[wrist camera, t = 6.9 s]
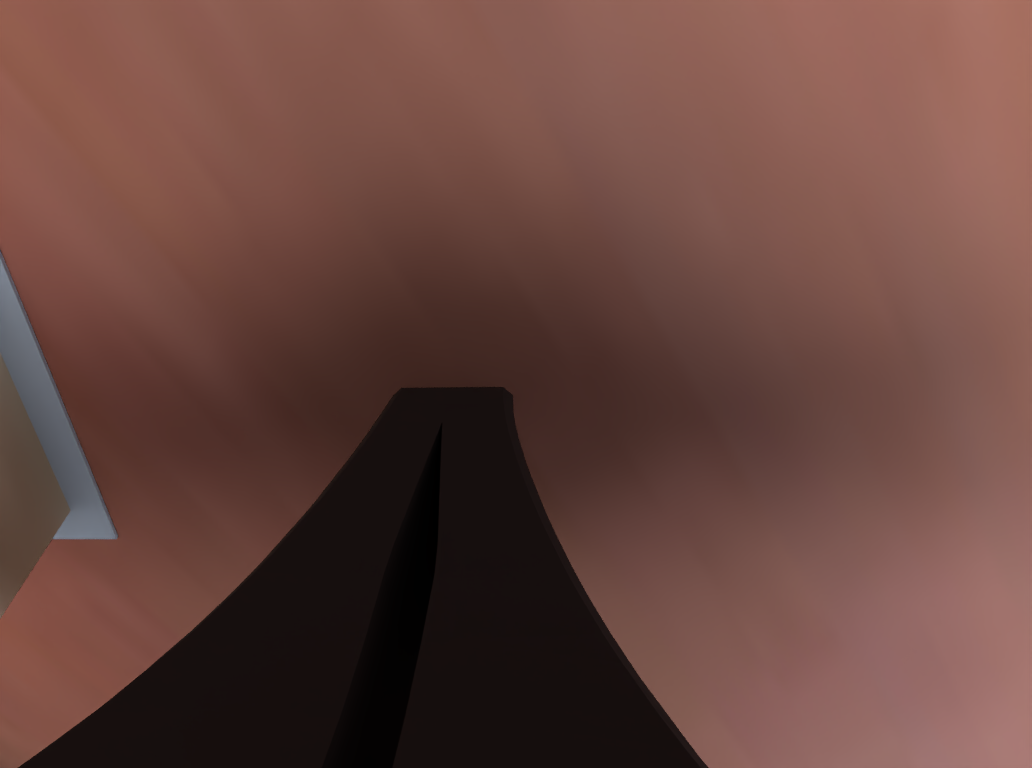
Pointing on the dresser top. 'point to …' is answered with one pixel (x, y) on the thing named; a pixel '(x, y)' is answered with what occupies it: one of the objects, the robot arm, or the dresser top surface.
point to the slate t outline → (50, 419)
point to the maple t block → (23, 493)
